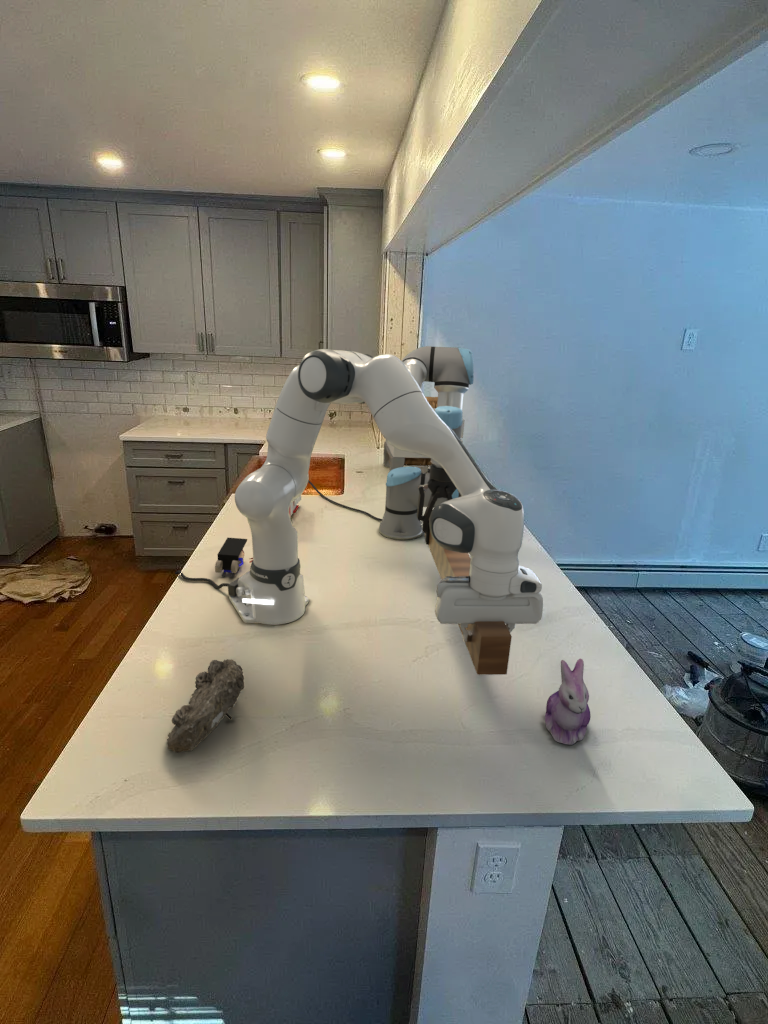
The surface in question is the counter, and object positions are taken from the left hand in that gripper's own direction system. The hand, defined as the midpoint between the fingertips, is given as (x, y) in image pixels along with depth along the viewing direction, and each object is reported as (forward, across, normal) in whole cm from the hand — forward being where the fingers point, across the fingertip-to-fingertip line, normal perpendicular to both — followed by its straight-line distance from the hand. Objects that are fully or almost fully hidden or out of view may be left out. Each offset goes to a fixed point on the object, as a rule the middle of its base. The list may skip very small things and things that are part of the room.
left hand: (484, 640), depth 111 cm
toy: (+15, -49, +107) cm, 118 cm away
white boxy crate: (+15, +12, +169) cm, 170 cm away
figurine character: (+15, -59, +61) cm, 86 cm away
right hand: (+3, 0, +54) cm, 54 cm away
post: (+3, 0, +27) cm, 27 cm away
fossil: (+15, -52, -3) cm, 54 cm away
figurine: (+14, +16, -9) cm, 23 cm away
